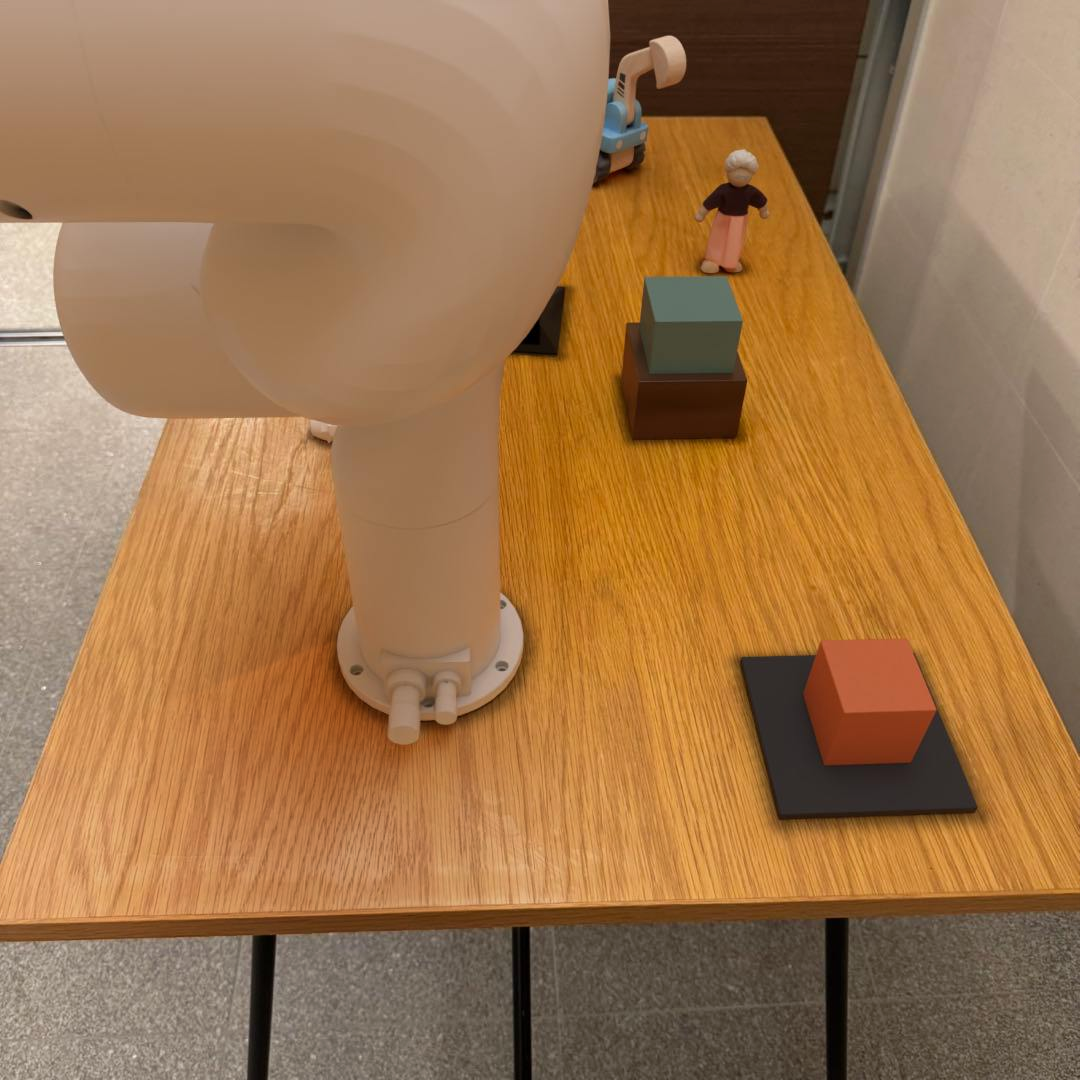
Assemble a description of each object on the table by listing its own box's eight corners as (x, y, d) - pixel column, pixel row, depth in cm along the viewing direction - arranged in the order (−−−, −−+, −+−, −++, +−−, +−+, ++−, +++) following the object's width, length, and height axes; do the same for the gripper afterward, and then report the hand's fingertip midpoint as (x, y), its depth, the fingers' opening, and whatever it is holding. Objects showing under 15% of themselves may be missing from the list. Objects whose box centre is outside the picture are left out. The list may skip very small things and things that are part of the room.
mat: (975, 812, 60) (978, 807, 60) (778, 819, 59) (780, 814, 59) (912, 657, 69) (914, 651, 68) (739, 662, 68) (741, 656, 68)
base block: (736, 438, 86) (747, 380, 82) (632, 439, 85) (638, 381, 81) (717, 377, 92) (727, 321, 88) (621, 378, 92) (626, 322, 88)
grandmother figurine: (699, 280, 105) (716, 161, 96) (685, 262, 108) (700, 146, 99) (765, 271, 107) (788, 154, 98) (750, 254, 109) (771, 138, 101)
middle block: (733, 373, 82) (743, 320, 79) (649, 374, 82) (655, 321, 79) (718, 327, 87) (726, 275, 84) (639, 328, 87) (644, 276, 84)
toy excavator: (636, 208, 117) (650, 53, 105) (540, 162, 125) (542, 14, 114) (685, 187, 121) (703, 36, 109) (588, 144, 130) (596, 0, 118)
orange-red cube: (911, 763, 62) (937, 710, 58) (823, 766, 62) (844, 712, 58) (884, 691, 66) (907, 637, 62) (802, 694, 65) (820, 639, 62)
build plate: (557, 357, 94) (558, 315, 91) (480, 353, 95) (479, 310, 91) (565, 289, 103) (567, 248, 100) (495, 285, 104) (494, 244, 100)
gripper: (200, -267, 47) (263, 106, 59) (568, -260, 48) (557, 106, 59) (228, -284, 52) (281, 61, 64) (558, -278, 53) (550, 62, 65)
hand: (414, 82), depth 62 cm, fingers open, 9 cm apart
